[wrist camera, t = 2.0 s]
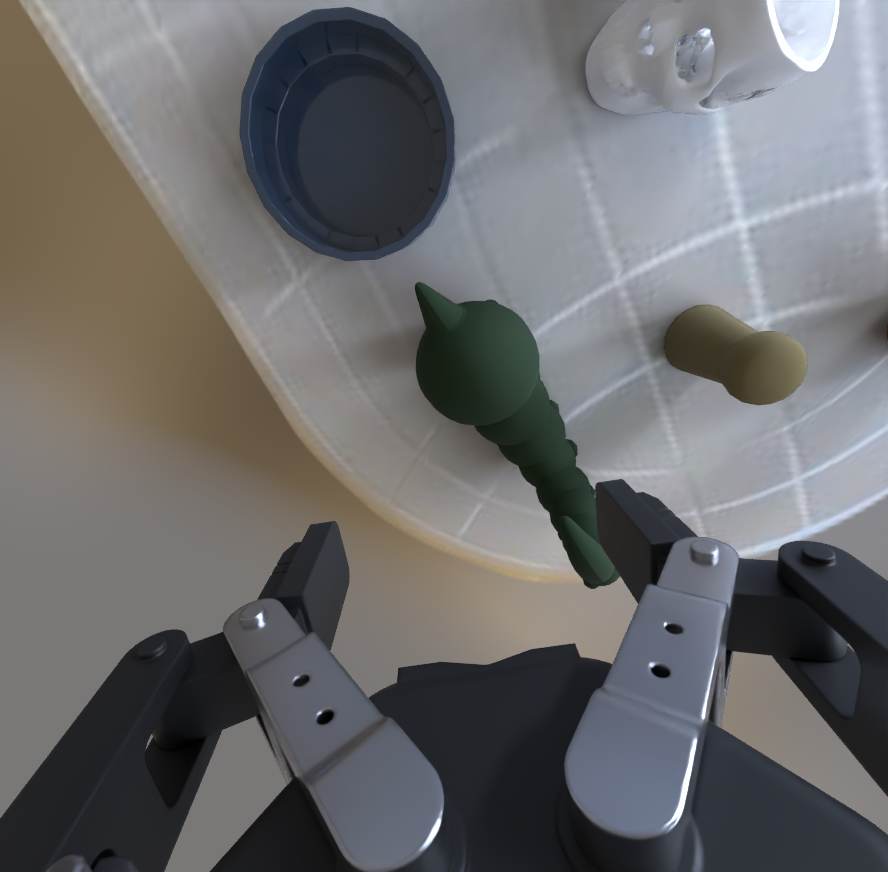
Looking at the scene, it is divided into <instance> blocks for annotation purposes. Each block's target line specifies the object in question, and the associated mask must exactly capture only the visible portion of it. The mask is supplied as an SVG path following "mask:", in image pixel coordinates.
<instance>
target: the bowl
mask: <svg viewBox="0 0 888 872" xmlns="http://www.w3.org/2000/svg"><path fill="white" fill-rule="evenodd" d="M240 139H241V144H242V149H243V153H244V158H245V163H246V168H247V172H248V175H249V177H250V179H251V181H252V183H253V185H254V187H255V189H256V191H257V193H258V195H259V197H260V199H261V201H262V203H263V205H264V207H265V208H266V209H267V211H268V212H269V213H270V214H271V215H272V216H273V218H274V219H275V220H276V221H277V222H278V223H279V224H280V226H281V227H282V228H283V229H284V230H285V231H286V232H287V233H288V234H289V235H290V236H292V237H293V238H295V239H296V240H298V241H299V242H301V243H302V244H304V245H305V246H307V247H308V248H310V249H312V250H313V251H315V252H316V253H319V254H323V255H327V256H330V257H334V258H337V259H341V260H344V261H357V260H375V259H379V258H382V257H384V256H386V255H389V254H391V253H393V252H396V251H398V250H401V249H403V248H405V247H407V246H409V245H411V244H412V243H414V242H415V241H416V240H417V239H418V238H419V237H420V236H421V235H422V234H423V233H425V232H426V231H427V230H428V229H429V228H430V227H431V226H432V225H433V223H434V221H435V220H436V218H437V216H438V215H439V213H440V211H441V209H442V208H443V206H444V204H445V202H446V201H447V198H448V194H449V190H450V186H451V182H452V178H453V173H454V169H455V135H454V120H453V115H452V112H451V108H450V105H449V102H448V99H447V96H446V93H445V89H444V86H443V83H442V80H441V78H440V77H439V75H438V74H437V72H436V71H435V69H434V68H433V66H432V64H431V63H430V61H429V60H428V58H427V57H426V55H425V54H424V52H423V51H422V49H421V48H420V46H419V45H418V44H417V43H416V42H414V41H413V40H412V39H411V38H409V37H408V36H407V35H406V34H404V33H403V32H402V31H401V30H399V29H398V28H397V27H396V26H394V25H393V24H392V23H391V22H389V21H388V20H386V19H385V18H382V17H379V16H376V15H373V14H370V13H367V12H364V11H361V10H358V9H355V8H352V7H344V8H331V9H318V10H312V11H310V12H308V13H306V14H304V15H302V16H301V17H299V18H297V19H295V20H293V21H291V22H289V23H288V24H286V25H284V26H282V27H281V28H279V30H278V31H277V32H276V33H275V34H274V36H273V37H272V38H271V39H270V40H269V42H268V43H267V44H266V45H265V46H264V48H263V49H262V50H261V51H260V52H259V54H258V55H257V56H256V58H255V61H254V63H253V66H252V69H251V71H250V74H249V77H248V79H247V82H246V85H245V87H244V90H243V94H242V104H241V119H240Z"/></svg>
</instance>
